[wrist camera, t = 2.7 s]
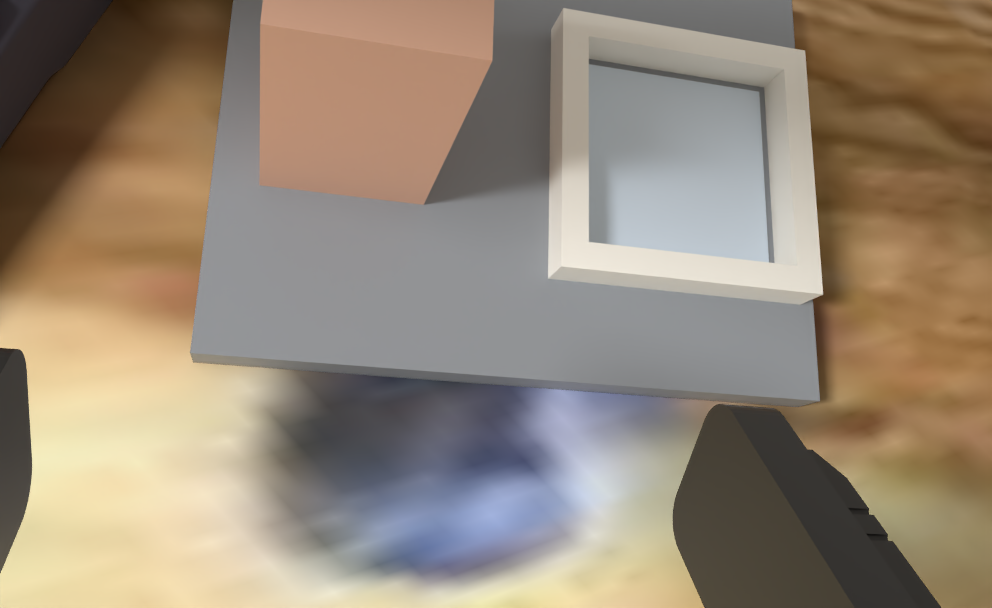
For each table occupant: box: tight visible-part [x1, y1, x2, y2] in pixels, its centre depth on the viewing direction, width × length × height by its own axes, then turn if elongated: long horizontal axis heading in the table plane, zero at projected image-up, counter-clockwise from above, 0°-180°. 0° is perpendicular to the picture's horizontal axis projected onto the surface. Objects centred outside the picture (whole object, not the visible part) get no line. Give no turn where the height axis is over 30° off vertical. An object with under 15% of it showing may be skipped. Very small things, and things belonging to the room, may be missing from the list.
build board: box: [190, 0, 823, 407], centre depth 27 cm, size 18×14×2 cm
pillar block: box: [259, 0, 494, 205], centre depth 22 cm, size 4×4×8 cm
